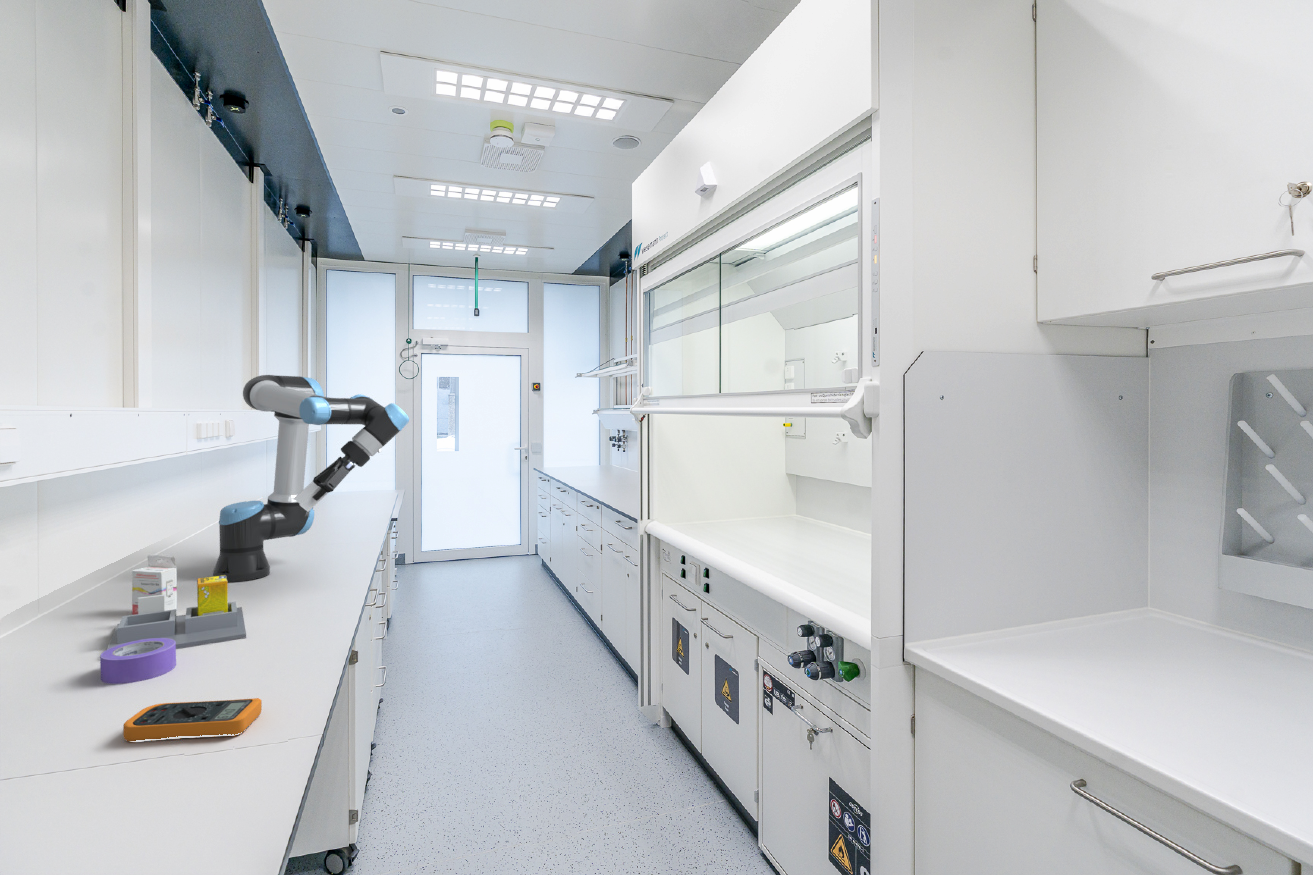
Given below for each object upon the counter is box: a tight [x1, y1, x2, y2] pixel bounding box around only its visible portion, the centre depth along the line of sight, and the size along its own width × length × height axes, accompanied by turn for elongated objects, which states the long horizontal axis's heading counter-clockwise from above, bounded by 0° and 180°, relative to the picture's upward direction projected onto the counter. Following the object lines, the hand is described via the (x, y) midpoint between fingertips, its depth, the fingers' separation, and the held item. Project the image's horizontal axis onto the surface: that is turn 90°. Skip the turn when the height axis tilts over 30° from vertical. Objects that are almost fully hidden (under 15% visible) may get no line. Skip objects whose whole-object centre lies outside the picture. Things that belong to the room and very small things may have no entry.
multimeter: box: [122, 697, 263, 742], centre depth 105 cm, size 9×18×3 cm, turn 100°
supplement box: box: [196, 575, 229, 616], centre depth 153 cm, size 6×6×11 cm
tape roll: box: [99, 638, 177, 685], centre depth 127 cm, size 12×12×5 cm
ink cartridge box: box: [131, 554, 178, 615], centre depth 163 cm, size 9×5×15 cm, turn 84°
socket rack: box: [106, 595, 247, 650], centre depth 149 cm, size 24×25×7 cm
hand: (300, 505), depth 170 cm, fingers open, 13 cm apart
